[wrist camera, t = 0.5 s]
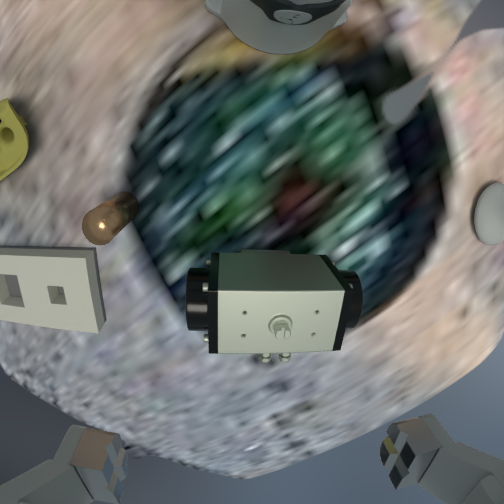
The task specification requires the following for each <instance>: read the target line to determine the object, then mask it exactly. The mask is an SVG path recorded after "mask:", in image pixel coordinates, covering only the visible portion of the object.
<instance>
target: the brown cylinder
mask: <svg viewBox="0 0 504 504" xmlns="http://www.w3.org/2000/svg"><path fill="white" fill-rule="evenodd" d="M138 210H139V204H138V201H137V199H136V198H135V197H134V196H133V195H132V194H130V193H128V192H122V193H119V194H117V195H115V196H114V197H112V198H110V199H109V200H107V201H105V202H104V203H102V204H100V205H99V206H97V207H96V208H94V209H92V210H91V211H89V212H88V213H87V214H86V215H85V216H84V218H83V222H82V230H83V233H84V235H85V237H86V238H87V239H88V240H89V241H90V242H91V243H93V244H95V245H105V244H107V243H109V242H110V241H111V240H112V239H113V238H114V237H115V236H116V235H117V234H118V233H119V232H120V231H121V230H122V229H123V228H124V227H125V226H126V225H127V224H128V223H129V222H130V221H131V220H132V219H133V218H134V217H135V216H136V215H137V213H138Z"/></svg>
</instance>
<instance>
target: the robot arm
mask: <svg viewBox="0 0 504 504" xmlns="http://www.w3.org/2000/svg"><path fill="white" fill-rule="evenodd" d="M352 1H353V0H206V1H205V7H206V9H207V10H208V11H209V12H211V13H213V14H214V15H216V16H218V17H220V18H221V19H222V20H223V21H224V22H225V23H226V25H227V26H228V27H229V29H230V30H231V31H232V33H233V34H234V35H235V36H236V37H237V38H238V39H240V40H241V41H242V42H244V43H245V44H247V45H249V46H251V47H253V48H255V49H257V50H260V51H263V52H268V53H274V54H291V53H297V52H300V51H303V50H306V49H308V48H310V47H312V46H314V45H315V44H316V43H318V42H319V41H320V40H321V39H322V38H323V37H324V35H325V34H326V33H327V32H328V31H330V30H332V29H334V28H337V27H340V26H342V25H343V24H344V23H345V22H346V21H347V19H348V16H347V11H346V10H347V9H348V8H349V6H350V5H351V3H352ZM387 433H388V435H389V436H388V437H386V438H385V439H384V440H383V442H382V444H381V447H380V457H381V461H382V463H383V465H384V467H386V468H388V469H390V473H389V477H390V479H391V481H392V483H393V485H394V487H395V489H396V490H398V489H401V488H404V487H408V486H411V485H415V484H418V485H419V486H421V487H422V488H424V489H425V490H427V491H428V492H430V493H431V494H433V495H434V496H436V497H437V498H439V499H440V500H442V501H444V502H445V503H447V504H504V460H502V459H499V458H497V457H494V456H492V455H489V454H487V453H484V452H482V451H479V450H477V449H474V448H472V447H469V446H467V445H465V444H463V443H460V442H457V443H455V442H454V441H453V439H452V438H451V437H450V435H449V434H448V433H447V431H446V430H445V429H444V427H443V426H442V425H441V423H440V422H439V421H438V420H437V418H436V417H435V416H434V415H433V414H427V415H423V416H420V417H415V418H411V419H408V420H403V421H399V422H395V423H392V424H391V425H390V426H389V427H388V430H387ZM121 444H122V439H121V437H120V434H118V433H113V432H107V431H102V430H97V429H92V428H87V427H81V426H77V425H72V426H71V427H69V429H68V431H67V433H66V435H65V437H64V439H63V441H62V443H61V445H60V447H59V449H58V451H57V453H56V455H55V457H54V459H53V460H50V459H49V460H47V461H45V462H43V463H42V464H40V465H38V466H36V467H34V468H33V469H31V470H29V471H27V472H25V473H23V474H22V475H20V476H18V477H16V478H14V479H12V480H10V481H9V482H7V483H5V484H3V485H1V486H0V504H91V503H92V502H93V500H98V501H103V502H108V503H114V504H119V503H120V499H121V495H122V491H123V487H122V485H121V481H122V480H123V479H125V478H126V476H127V471H128V458H127V454H126V451H125V450H124V449H123V448H122V447H121Z"/></svg>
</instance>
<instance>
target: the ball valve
mask: <svg viewBox="0 0 504 504" xmlns="http://www.w3.org/2000/svg"><path fill="white" fill-rule="evenodd" d="M219 255H220V257H219ZM206 267H210V268H189V271H188V275H187V284H186V320H187V327H188V330H190V331H208V334H204V342H207V343H209V353H216V354H260V355H259V359H260V361H262V362H269V361H270V359H271V353H280V354H279V356H278V358H279V360H280V361H283V362H287V361H289V359H290V357H291V355H290V354H291V353H299V352H320V351H336V350H340V349H341V345H342V341H343V337H344V333H345V329H351V328H354V327H355V326H356V325H357V324H358V322H359V320H360V317H361V313H362V306H363V292H362V286H361V282H360V279H359V277H358V275H357V274H356V272H355V271H353V270H338V269H337V268H336V267H335V263H334V262H333V261H331V260H330V259H329V258H328V257H327V255H310V254H290V252H289V251H288V250H242V249H241V250H240V253H213V252H212V254H211V259H206Z"/></svg>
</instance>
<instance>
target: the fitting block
mask: <svg viewBox="0 0 504 504" xmlns="http://www.w3.org/2000/svg"><path fill="white" fill-rule="evenodd" d="M0 320H4V321H10V322H16V323H22V324H28V325H35V326H42V327H49V328H56V329H64V330H72V331H81V332H90V333H99V332H100V330H101V328H102V327H103V325H104V323H105V321H106V314H105V309H104V303H103V297H102V291H101V284H100V277H99V270H98V262H97V254H96V248H76V247H33V246H0Z"/></svg>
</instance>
